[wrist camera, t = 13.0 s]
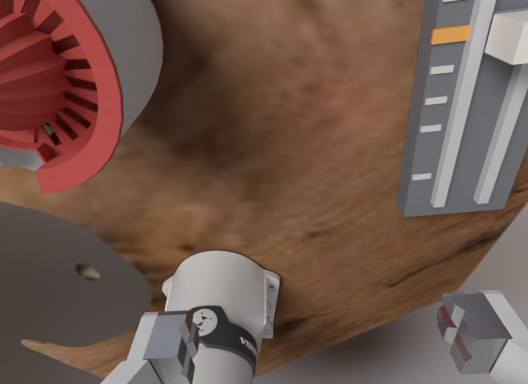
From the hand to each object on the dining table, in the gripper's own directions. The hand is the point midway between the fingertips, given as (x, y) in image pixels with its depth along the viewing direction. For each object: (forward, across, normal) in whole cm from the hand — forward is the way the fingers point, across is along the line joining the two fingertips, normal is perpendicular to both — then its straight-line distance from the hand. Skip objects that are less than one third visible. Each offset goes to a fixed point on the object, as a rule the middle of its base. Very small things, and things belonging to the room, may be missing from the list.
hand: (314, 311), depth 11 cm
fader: (+25, +20, +2) cm, 32 cm away
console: (+29, +20, -4) cm, 35 cm away
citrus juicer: (+29, -17, +5) cm, 34 cm away
